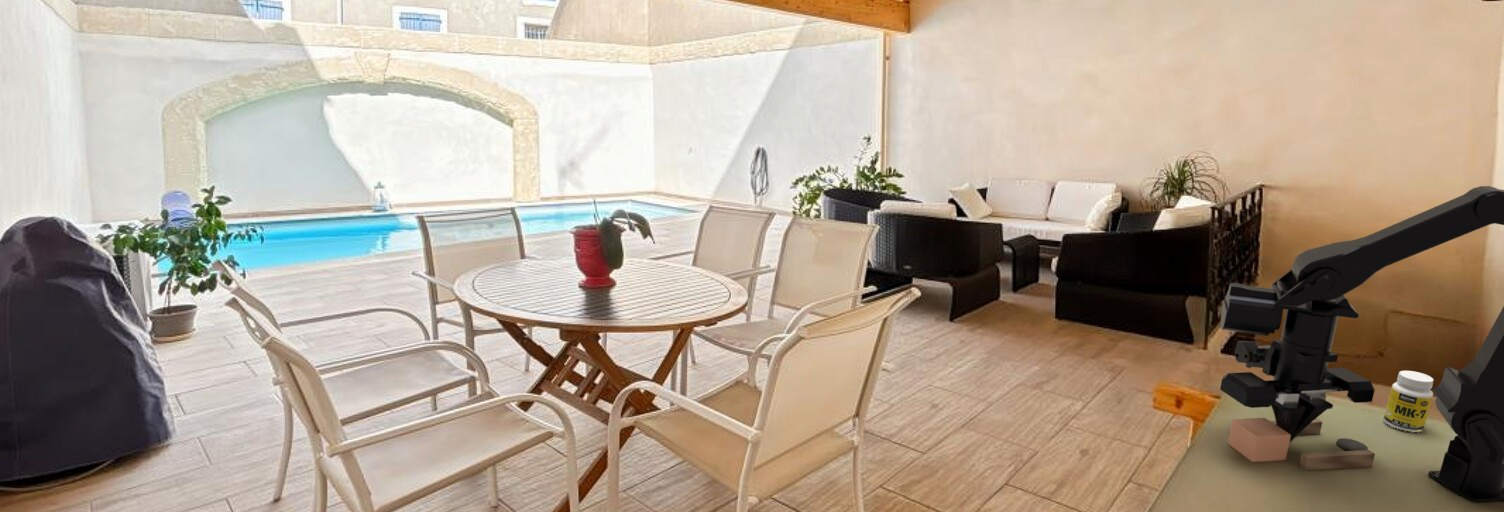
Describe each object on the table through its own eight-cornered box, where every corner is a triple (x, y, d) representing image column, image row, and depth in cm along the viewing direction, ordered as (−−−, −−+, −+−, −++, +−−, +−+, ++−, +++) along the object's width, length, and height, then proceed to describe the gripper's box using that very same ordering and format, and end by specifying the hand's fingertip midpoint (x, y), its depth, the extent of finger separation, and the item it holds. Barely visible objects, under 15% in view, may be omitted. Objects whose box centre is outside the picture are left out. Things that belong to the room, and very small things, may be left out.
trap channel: (1334, 429, 114) (1337, 417, 114) (1394, 465, 105) (1397, 452, 104) (1252, 433, 113) (1254, 422, 113) (1304, 470, 104) (1307, 457, 103)
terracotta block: (1259, 441, 111) (1264, 417, 110) (1285, 460, 106) (1291, 434, 105) (1227, 443, 111) (1232, 419, 109) (1252, 461, 106) (1257, 436, 105)
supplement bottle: (1387, 429, 114) (1399, 378, 112) (1379, 415, 118) (1391, 366, 116) (1427, 436, 112) (1441, 385, 110) (1418, 422, 116) (1431, 372, 114)
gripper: (1322, 317, 112) (1302, 411, 116) (1204, 322, 111) (1187, 416, 115) (1389, 346, 101) (1364, 448, 106) (1258, 352, 100) (1238, 455, 104)
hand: (1285, 440), depth 108 cm, fingers closed
